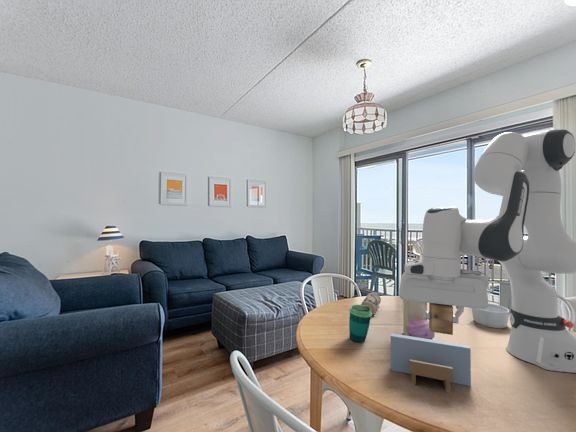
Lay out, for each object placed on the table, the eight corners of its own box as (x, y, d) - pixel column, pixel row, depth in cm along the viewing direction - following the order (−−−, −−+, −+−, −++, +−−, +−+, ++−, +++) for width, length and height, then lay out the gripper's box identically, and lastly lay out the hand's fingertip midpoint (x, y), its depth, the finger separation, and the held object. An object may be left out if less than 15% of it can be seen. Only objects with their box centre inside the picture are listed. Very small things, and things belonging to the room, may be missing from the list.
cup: (354, 333, 105) (354, 302, 105) (375, 338, 100) (374, 306, 100) (345, 341, 98) (345, 308, 99) (367, 347, 94) (367, 312, 94)
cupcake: (401, 343, 97) (401, 315, 97) (425, 342, 97) (424, 314, 97) (415, 355, 88) (415, 325, 88) (440, 354, 88) (440, 324, 88)
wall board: (469, 382, 73) (468, 345, 74) (476, 399, 66) (476, 358, 66) (390, 366, 81) (390, 333, 81) (389, 380, 74) (389, 344, 74)
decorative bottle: (366, 303, 143) (366, 291, 143) (381, 305, 139) (381, 293, 139) (355, 319, 120) (355, 304, 120) (372, 323, 116) (372, 307, 116)
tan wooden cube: (450, 330, 71) (450, 303, 71) (453, 335, 67) (453, 307, 67) (428, 326, 73) (429, 300, 73) (430, 332, 69) (431, 305, 69)
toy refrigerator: (429, 343, 97) (429, 284, 97) (408, 341, 98) (407, 283, 98) (423, 334, 104) (422, 279, 105) (403, 332, 106) (402, 279, 106)
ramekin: (515, 331, 107) (515, 314, 107) (477, 327, 111) (476, 310, 111) (501, 319, 120) (501, 304, 120) (467, 316, 124) (466, 301, 124)
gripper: (484, 269, 70) (484, 322, 69) (399, 263, 77) (398, 311, 77) (492, 273, 64) (492, 332, 64) (399, 266, 71) (398, 318, 71)
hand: (440, 320), depth 70 cm, fingers closed on tan wooden cube, 5 cm apart
